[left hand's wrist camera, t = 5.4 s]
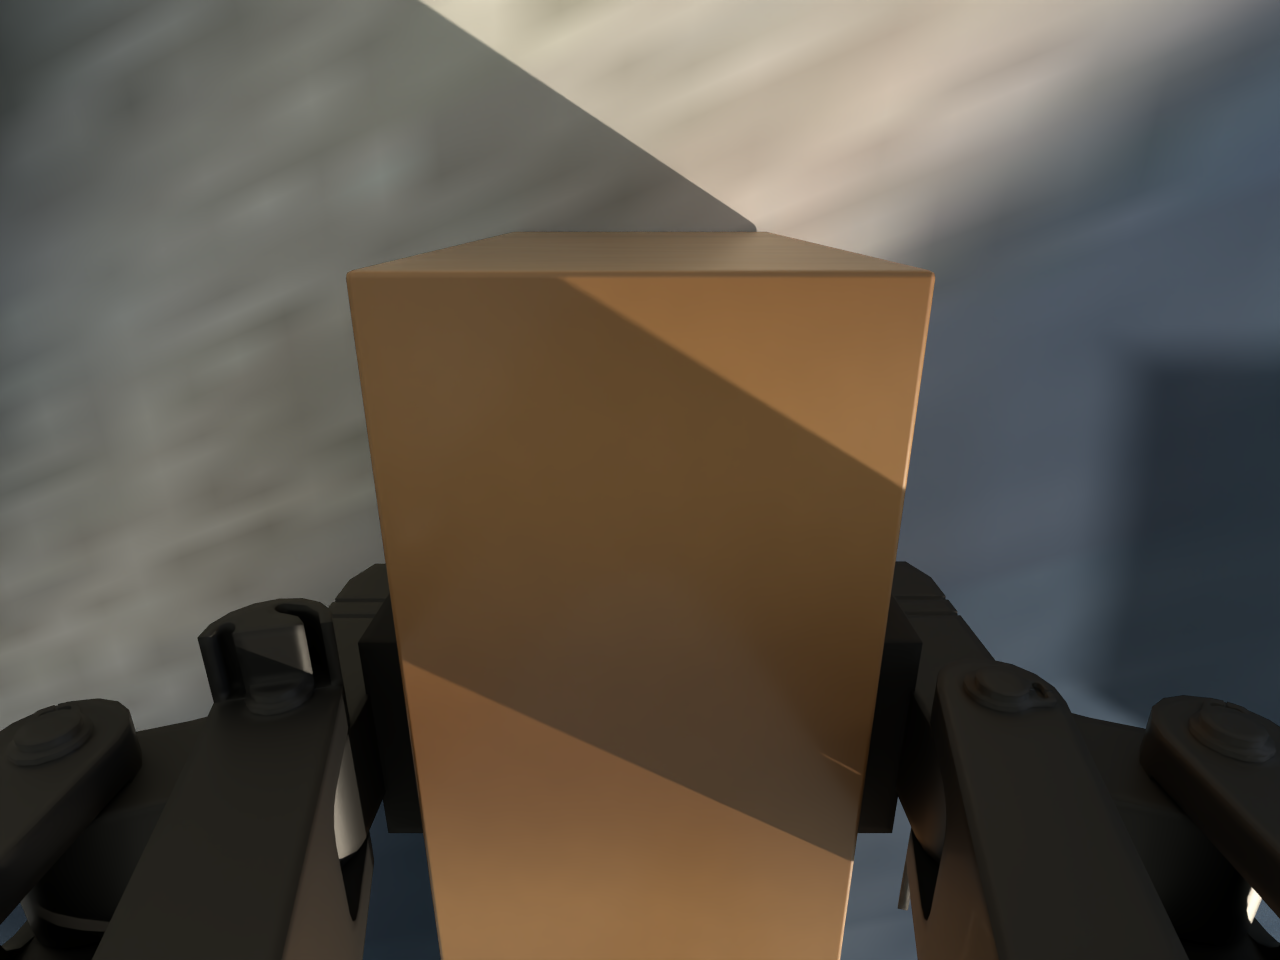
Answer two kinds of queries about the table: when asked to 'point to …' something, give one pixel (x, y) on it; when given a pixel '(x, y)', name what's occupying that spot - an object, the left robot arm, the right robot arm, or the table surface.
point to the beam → (640, 577)
